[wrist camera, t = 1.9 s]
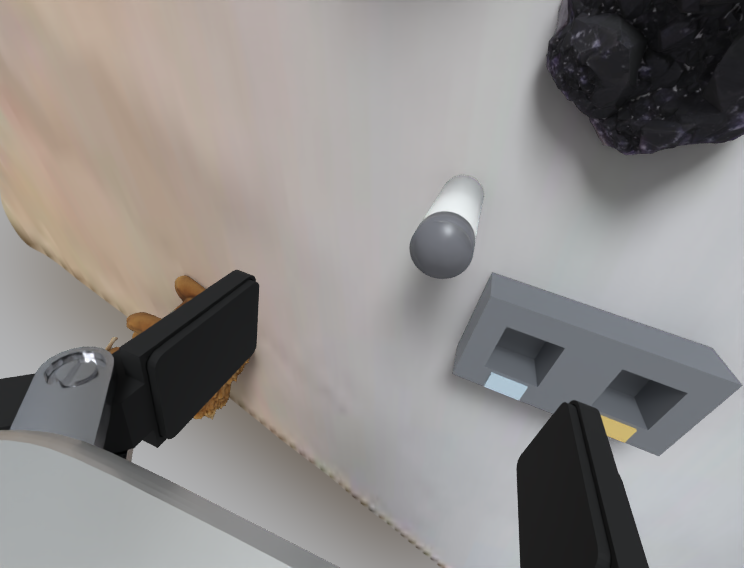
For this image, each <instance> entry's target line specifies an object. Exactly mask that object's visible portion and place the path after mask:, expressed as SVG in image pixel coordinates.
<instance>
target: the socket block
mask: <svg viewBox="0 0 744 568" xmlns="http://www.w3.org/2000/svg"><path fill="white" fill-rule="evenodd" d="M453 374H454V375H457V376H459V377H462V378H464V379H467V380H469V381H472V382H474V383H477V384H479V385H482V386H484V387H486V388H489V389H491V390H494V391H496V392H499V393H501V394H504V395H506V396H509V397H511V398H514V399H516V400H519V401H522V402H524V403H527V404H529V405H532V406H534V407H537V408H539V409H542V410H544V411H547V412H549V413H552V414H554V412H555V411H556V410H557V409H558V407H559V406H560V405H561V404H562V403H563V402H566V403H569V402H570V401H572V400H576V401H579V402H581V403H584V404H587V405H589V406H592V407H594V408H597V409H598V410H599V412H600V415H601V418H602V421H603V425H604V428H605V431H606V434H607V436H609V437H611V438H614V439H616V440H619V441H621V442H624V443H627V444H630V445H632V446H635V447H637V448H640V449H642V450H645V451H647V452H650V453H652V454H655V455H657V456H660V455H661V454H662V453H663V452H664V451H666V450H667V449H668V448H669V447H670V446H672V445H673V444H674V443H675V442H676V441H677V440H679V439H680V438H681V437H682V436H683V435H685V434H686V433H687V432H688V431H689V430H690V429H692V428H693V427H694V426H695V425H696V424H698V423H699V422H700V421H701V420H702V419H703V418H705V417H706V416H707V415H708V414H709V413H711V412H712V411H713V410H714V409H715V408H716V407H718V406H719V405H720V404H721V403H722V402H724V401H725V400H726V399H727V398H728V397H729V396H731V395H732V394H733V393H734V392H735V391H736V390H738V389H739V388H740V387H741V386H742V384H741V383H740V382H739V380H738V379H737V378H736V377H735V375H734V374H733V373H732V372H731V370H730V369H729V368H728V367H727V365H726V364H725V363H724V362H723V360H722V359H721V358H720V357H719V355H718V354H717V353H716V352H715V350H714V349H713V348H711V347H708V346H705V345H702V344H699V343H696V342H693V341H690V340H687V339H685V338H682V337H679V336H676V335H673V334H670V333H667V332H664V331H661V330H658V329H656V328H653V327H650V326H647V325H644V324H641V323H638V322H635V321H632V320H629V319H626V318H624V317H621V316H618V315H615V314H612V313H609V312H606V311H603V310H600V309H597V308H594V307H592V306H589V305H586V304H583V303H580V302H577V301H574V300H571V299H568V298H565V297H563V296H560V295H557V294H554V293H551V292H548V291H545V290H542V289H539V288H536V287H533V286H531V285H528V284H525V283H522V282H519V281H516V280H513V279H510V278H507V277H504V276H501V275H499V274H496V273H493V272H492V274H491V276H490V278H489V281H488V283H487V285H486V287H485V289H484V291H483V293H482V295H481V297H480V300H479V302H478V304H477V306H476V308H475V310H474V312H473V314H472V317H471V319H470V321H469V323H468V325H467V327H466V329H465V331H464V333H463V336H462V338H461V340H460V342H459V344H458V347H457V352H456V358H455V363H454V368H453Z"/></svg>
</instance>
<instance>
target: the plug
mask: <svg viewBox="0 0 744 568" xmlns="http://www.w3.org/2000/svg"><path fill="white" fill-rule="evenodd" d="M483 198H484V191H483V188H482V186H481V184H480V183H479V181H478V180H476V179H475V178H473V177H471V176H468V175H459V176H455V177H453V178H452V179H450V180H449V181H448V182H447V183H446V184H445V186H444V187H443V189H442V190H441V192H440V194H439V195H438V197H437V198H436V200H435V202H434V203H433V205H432V206H431V208H430V210H429V211H428V213H427V214H426V216H425V218H424V219H423V221H422V222H421V223H420V225H419V226H418V228H417V230H416V231H415V233H414V235H413V236H412V239H411V242H410V255H411V258H412V260H413V262H414V264H415V265H416V266H417V268H418V269H419V270H420V271H422V272H423V273H425V274H426V275H428V276H431V277H434V278H439V279H446V278H452V277H455V276H457V275H459V274H461V273H462V272H463V271H464V270H465V269H466V268H467V267H468V266H469V264H470V262H471V260H472V257H473V252H474V246H475V239H476V234H477V229H478V224H479V219H480V214H481V209H482V203H483Z"/></svg>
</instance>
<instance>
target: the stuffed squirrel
mask: <svg viewBox="0 0 744 568" xmlns="http://www.w3.org/2000/svg"><path fill="white" fill-rule="evenodd" d="M175 289H176V292H177V294H178V295H179V297H180V298H181V299H182V301H183V303H182V304H181V305H179V306H178V307H177V308H179V307H180V306H182V305H183V304H185V303H186V302H188V301H189V300H191V299H192V298H194V297H195V296H197V295H198V294H200V293H201V292H203V291H204V290H206V289H205V288H203V287H202V286H201V285H200V284H198V283H197V282H195V281H194V280H193V279H191V278H190V277H188V276H180V277H178V278H177V279H176V281H175ZM177 308H176V309H177ZM176 309H174V310H173V311H175V310H176ZM173 311H172V312H173ZM172 312H171V313H172ZM160 320H161V318H158V317H156V316H154V315H151V314H148V313H144V312H140V313H135V314H132V315H130V316H129V317H128V318H127V327H128V328H129V329H130V330H132V331H134V334H133V336H132V339H133V338H134V337H136V336H137V335H139V334H140V333H142V332H143V331H145V330H146V329H148V328H149V327H151V326H152V325H154V324H155V323H157V322H158V321H160ZM117 339H118V338H117V337H115V338H114V337H113V338H112V339H111V342H110V343H109V344H108V346H107V347H106V349H105V350H107V351H109V352H110V353H111V354H113V353H114V352H116V351H117V350H118V349H119V347H115V348H112V349H111V347H112V345H113V343H114V342H115V341H116V340H117ZM248 361H249V359H248V360H247V361H246V362H245V363H249V362H248ZM245 363H244V364H243V365H242V366H241V367H240V368H239V369H238V370H237V372H236V373H235V374H234V375H233V376H232V377H231V378H230V379H229V380H228V381H227V382H226V383H225V384H224V385H223V386H222V387H221V388H220V390H219V391H218V392H217V393H216V394H215V395H214V396H213V397H212V398H211V399H210V400H209V401H208V402H207V403H206V404H205V405H204V406H203V408H202V409H201V410H200V411H199V412H198V413H197V414H196V415H195V416H194V417H193V418H194V419H201V418H202V417H203V416H207V417H208V418H211V419H213V417H214V415H215V412H216V409H219V408H220V409H221V408H222V407H223V406H225V404H226V402H227V400H228V399H229V396H230V395H229V394H230V387H231V383H232V381H237V376H238V375H239V374H241V372H242V371H243V368H244V365H245Z"/></svg>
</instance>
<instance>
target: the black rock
mask: <svg viewBox="0 0 744 568" xmlns="http://www.w3.org/2000/svg"><path fill="white" fill-rule="evenodd" d="M547 68H548V70H549V72H550V73H551V75H552V77H553V79H554V81H555V83H556V85H557V87H558V88H559V89H560V90H561V91H562V92H563V93H564V95H565V96H566V98H567V100H570V101H574V103H575V105H576V106H577V108H578V109H579V110H580V111H581V112H582V113H584V114H585V115H587V116H589V117H590V122H591V123H592V125H593V126H594V128H595V130H596V133H597V135H598V137H599V139H600V141H601V142H602V144H603V145H604V146H610V147H613V148H615V149H617V150H618V151H619V152H621V153H623V154H625V155H634V154H651V153H654V152H657V151H660V150H663V149H668V148H674V147H676V146H681V145H689V144H699V143H723V142H726V141H729V140H734V139H736V138H738V137H740V136H742V135H744V0H562V4H561V8H560V10H559V16H558V25H557V29H556V32H555V34H554V36H553V37H552V38H551V40H550V41H549V46H548V54H547Z"/></svg>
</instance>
